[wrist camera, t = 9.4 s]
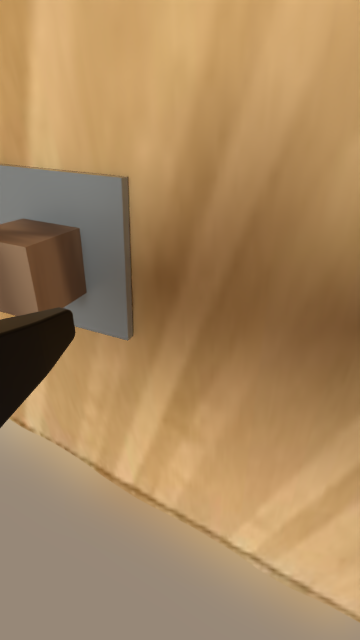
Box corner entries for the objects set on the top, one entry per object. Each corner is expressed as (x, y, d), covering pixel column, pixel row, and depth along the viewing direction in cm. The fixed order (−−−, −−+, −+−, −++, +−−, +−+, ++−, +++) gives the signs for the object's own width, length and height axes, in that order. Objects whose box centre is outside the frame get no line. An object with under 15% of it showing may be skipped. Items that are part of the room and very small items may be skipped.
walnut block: (79, 227, 22) (25, 247, 18) (86, 292, 24) (40, 322, 20) (22, 218, 23) (-40, 234, 19) (35, 280, 26) (-18, 306, 22)
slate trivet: (127, 176, 20) (121, 177, 19) (132, 335, 26) (128, 340, 25) (-17, 162, 23) (-26, 162, 22) (18, 305, 29) (11, 309, 28)
